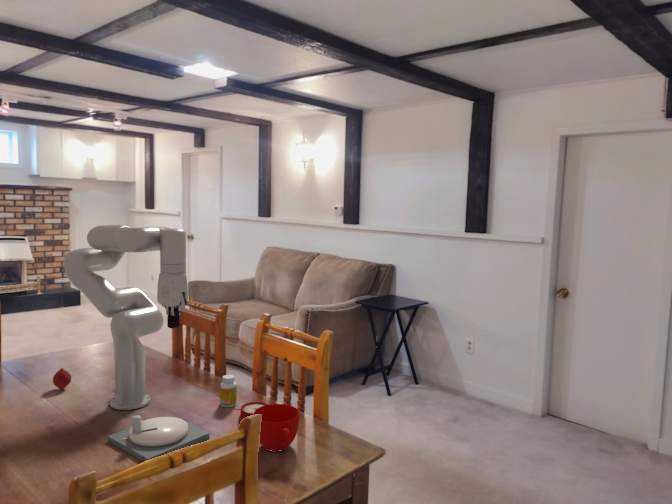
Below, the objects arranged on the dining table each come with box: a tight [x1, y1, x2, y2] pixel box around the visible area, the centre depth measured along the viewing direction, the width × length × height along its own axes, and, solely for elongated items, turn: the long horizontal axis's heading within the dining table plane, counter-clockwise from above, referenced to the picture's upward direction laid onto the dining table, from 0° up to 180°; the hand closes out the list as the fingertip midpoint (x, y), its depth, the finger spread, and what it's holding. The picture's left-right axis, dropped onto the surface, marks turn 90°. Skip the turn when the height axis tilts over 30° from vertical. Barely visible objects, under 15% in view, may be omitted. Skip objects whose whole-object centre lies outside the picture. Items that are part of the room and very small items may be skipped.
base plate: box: [107, 413, 210, 462], centre depth 151 cm, size 20×20×2 cm
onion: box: [52, 367, 72, 390], centre depth 187 cm, size 6×6×8 cm
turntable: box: [129, 414, 188, 447], centre depth 151 cm, size 16×16×6 cm
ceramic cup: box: [254, 403, 301, 451], centre depth 147 cm, size 13×17×10 cm
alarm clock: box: [234, 401, 269, 423], centre depth 166 cm, size 10×6×15 cm
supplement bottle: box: [219, 374, 238, 408], centre depth 178 cm, size 5×5×10 cm
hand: (173, 327), depth 164 cm, fingers closed
